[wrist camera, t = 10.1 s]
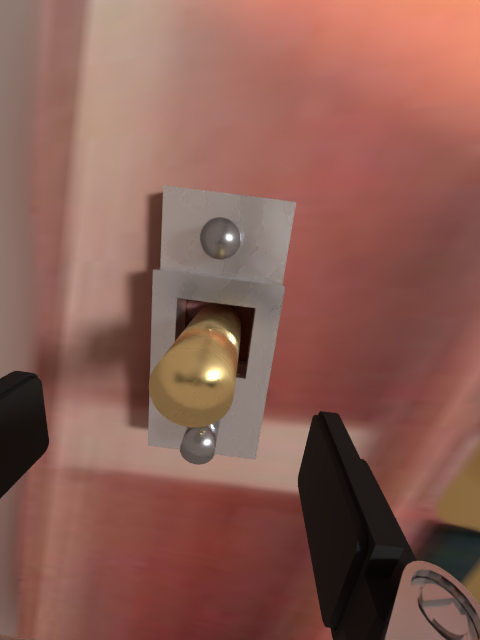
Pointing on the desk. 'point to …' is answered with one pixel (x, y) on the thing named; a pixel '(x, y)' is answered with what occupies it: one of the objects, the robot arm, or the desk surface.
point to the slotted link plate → (225, 236)
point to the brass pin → (199, 369)
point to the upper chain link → (251, 384)
